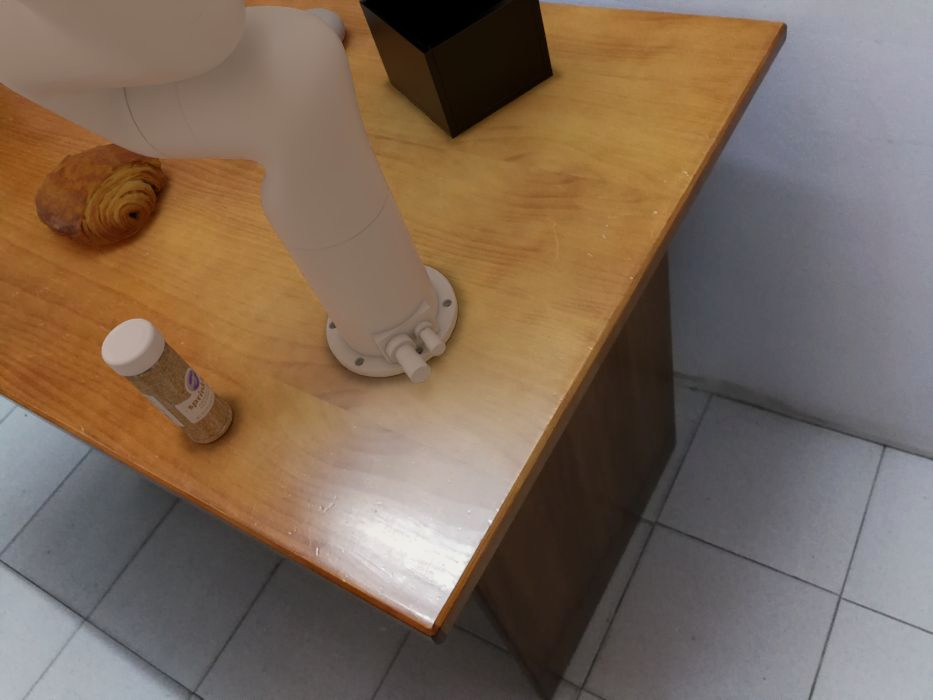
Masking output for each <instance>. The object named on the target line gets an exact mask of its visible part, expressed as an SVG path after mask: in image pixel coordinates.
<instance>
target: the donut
mask: <svg viewBox="0 0 933 700" xmlns="http://www.w3.org/2000/svg"><path fill="white" fill-rule="evenodd" d="M303 10H304V9H303ZM304 11H306V12H309V13H312V14H314V15H316V16H318V17H319V18H321V19H322V20H324V21H325V22H326V23H327V24H328V25H329V26H330V27H331V28H332V29H333V30H334V31H335V32H336V34H337V35H338V37H339V38H340V40H341V42H342V43H343V41H344V39H345V36H346V27H345V23H344V20H343V19H342V18H341V17H340V15H339V14H338V13H337V12H335V11H333V10H331V9H328V8H323V7H313V8H307V9H305V10H304Z"/></svg>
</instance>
